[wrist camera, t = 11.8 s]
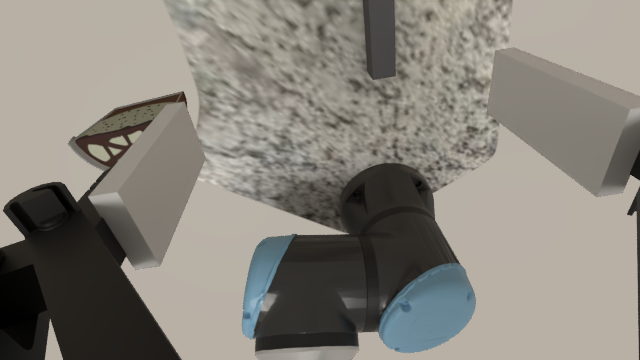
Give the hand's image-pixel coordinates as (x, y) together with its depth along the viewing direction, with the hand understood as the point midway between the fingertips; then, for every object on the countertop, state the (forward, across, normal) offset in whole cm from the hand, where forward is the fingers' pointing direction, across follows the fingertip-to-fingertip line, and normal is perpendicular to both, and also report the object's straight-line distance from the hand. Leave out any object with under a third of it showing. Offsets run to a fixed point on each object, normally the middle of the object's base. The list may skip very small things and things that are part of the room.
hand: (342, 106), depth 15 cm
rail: (+31, -8, 0) cm, 32 cm away
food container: (+31, +22, +10) cm, 39 cm away
